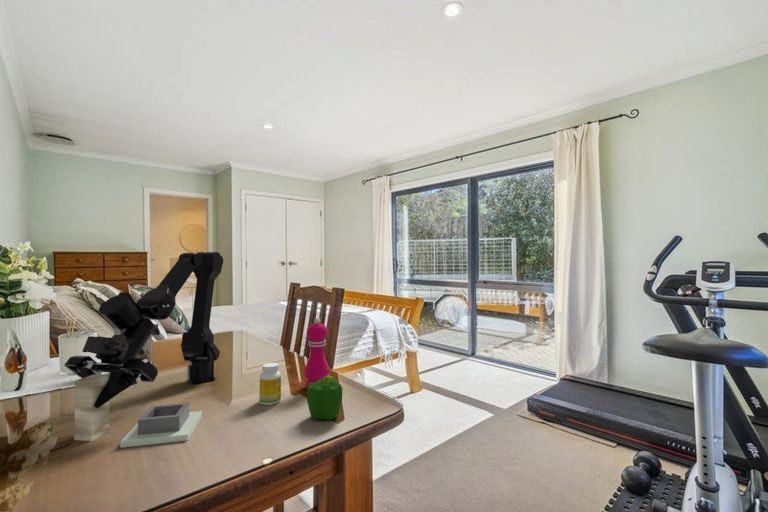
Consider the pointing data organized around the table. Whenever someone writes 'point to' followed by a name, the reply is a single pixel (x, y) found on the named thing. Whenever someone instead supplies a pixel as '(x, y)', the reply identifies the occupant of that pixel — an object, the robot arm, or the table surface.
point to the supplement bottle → (270, 384)
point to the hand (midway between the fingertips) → (86, 406)
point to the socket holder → (163, 425)
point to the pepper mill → (316, 353)
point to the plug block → (90, 408)
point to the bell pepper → (324, 398)
